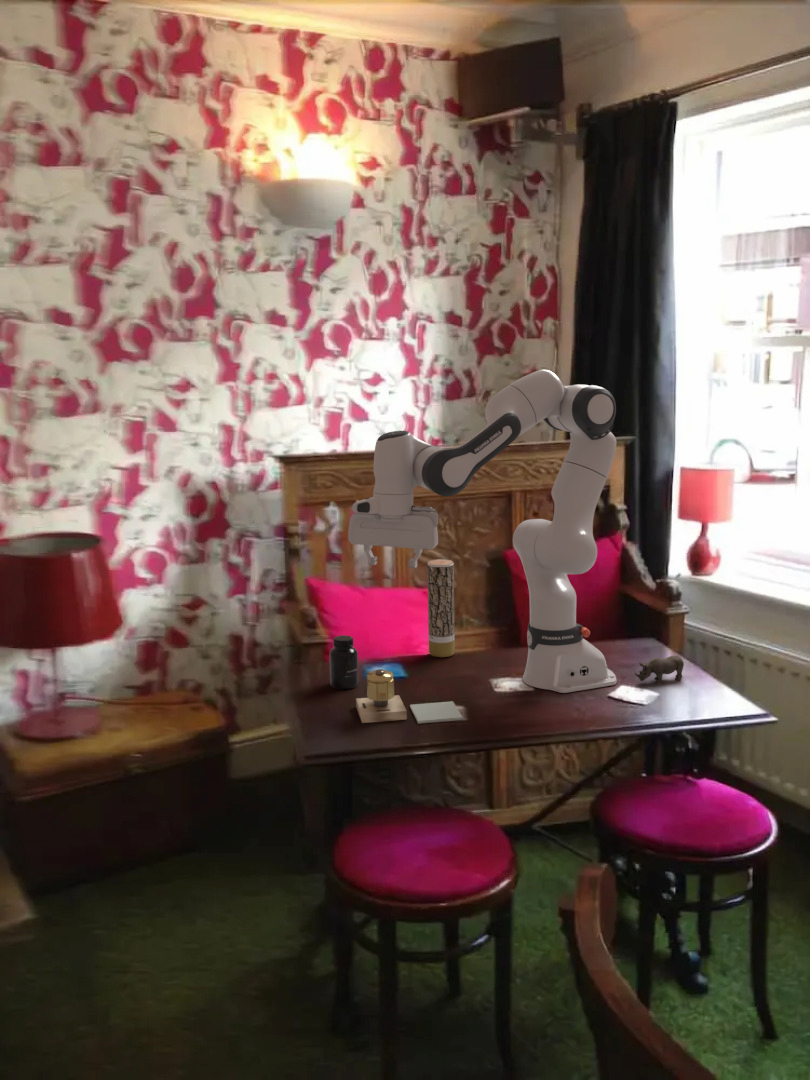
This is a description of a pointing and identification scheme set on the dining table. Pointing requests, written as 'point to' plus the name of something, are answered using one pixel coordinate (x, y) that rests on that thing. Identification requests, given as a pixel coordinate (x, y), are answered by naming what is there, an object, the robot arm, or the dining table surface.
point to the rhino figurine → (662, 668)
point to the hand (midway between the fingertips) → (392, 566)
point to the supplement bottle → (343, 663)
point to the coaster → (436, 712)
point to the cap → (380, 685)
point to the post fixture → (381, 709)
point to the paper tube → (441, 607)
